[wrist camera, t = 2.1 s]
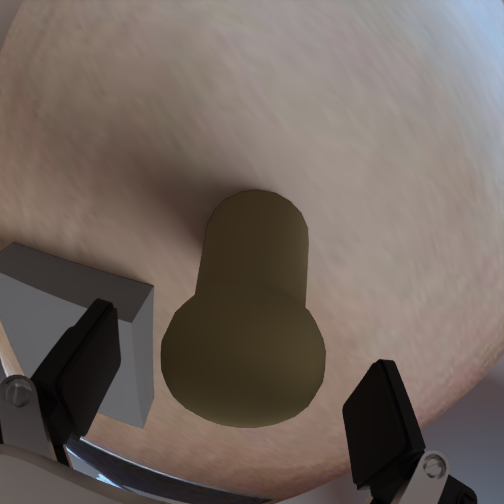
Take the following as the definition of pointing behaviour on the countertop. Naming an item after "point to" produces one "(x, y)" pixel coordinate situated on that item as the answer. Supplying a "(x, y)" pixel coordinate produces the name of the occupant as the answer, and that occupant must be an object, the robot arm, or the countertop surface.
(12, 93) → the countertop surface
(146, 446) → the countertop surface
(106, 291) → the base block
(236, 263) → the cork
